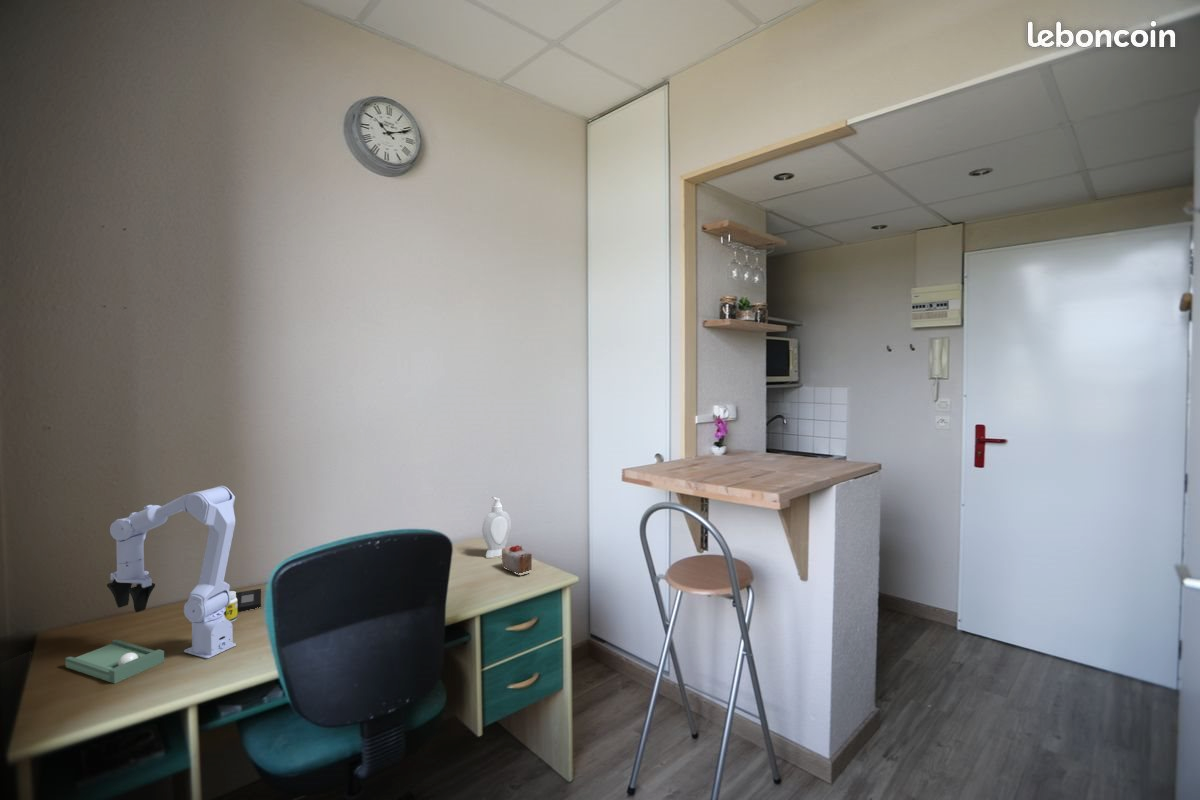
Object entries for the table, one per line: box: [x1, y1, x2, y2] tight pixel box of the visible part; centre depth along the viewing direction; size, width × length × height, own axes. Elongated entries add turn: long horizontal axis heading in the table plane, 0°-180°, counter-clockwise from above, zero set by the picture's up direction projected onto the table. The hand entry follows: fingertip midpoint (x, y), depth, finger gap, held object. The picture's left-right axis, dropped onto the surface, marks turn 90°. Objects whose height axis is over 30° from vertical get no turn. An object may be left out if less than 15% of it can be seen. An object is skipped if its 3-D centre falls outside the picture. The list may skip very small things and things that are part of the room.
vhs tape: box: [236, 588, 262, 613], centre depth 182 cm, size 8×14×2 cm, turn 31°
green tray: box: [65, 638, 165, 684], centre depth 142 cm, size 20×11×3 cm, turn 69°
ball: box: [118, 653, 139, 666], centre depth 140 cm, size 4×4×4 cm
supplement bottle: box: [224, 590, 238, 623], centre depth 168 cm, size 5×5×8 cm
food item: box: [501, 544, 533, 574], centre depth 215 cm, size 14×8×10 cm, turn 42°
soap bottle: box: [481, 496, 512, 557], centre depth 232 cm, size 13×8×24 cm, turn 123°
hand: (131, 608), depth 153 cm, fingers open, 7 cm apart
